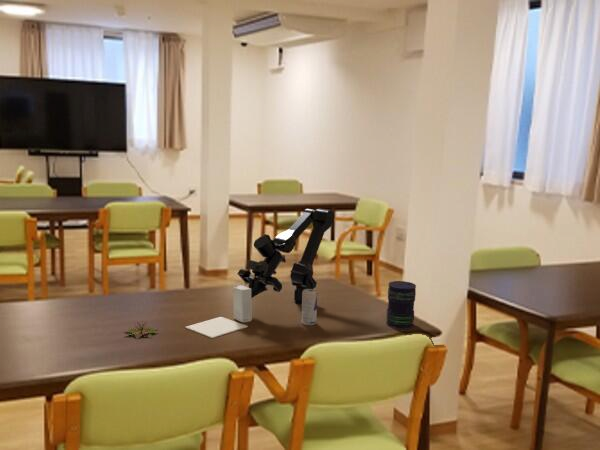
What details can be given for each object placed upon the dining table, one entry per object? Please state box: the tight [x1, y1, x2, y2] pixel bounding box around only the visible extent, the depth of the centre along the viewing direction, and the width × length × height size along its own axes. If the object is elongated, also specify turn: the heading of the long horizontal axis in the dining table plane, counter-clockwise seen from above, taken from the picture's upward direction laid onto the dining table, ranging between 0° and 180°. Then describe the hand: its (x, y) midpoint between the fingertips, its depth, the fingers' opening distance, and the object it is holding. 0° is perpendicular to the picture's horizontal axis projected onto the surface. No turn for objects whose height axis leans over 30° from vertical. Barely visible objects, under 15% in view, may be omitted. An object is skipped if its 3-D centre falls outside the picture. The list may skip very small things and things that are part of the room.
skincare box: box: [232, 284, 253, 324], centre depth 216 cm, size 6×4×12 cm
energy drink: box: [300, 288, 318, 326], centre depth 215 cm, size 5×5×12 cm
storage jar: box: [385, 280, 417, 330], centre depth 216 cm, size 10×10×15 cm
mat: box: [185, 316, 248, 339], centre depth 208 cm, size 16×14×1 cm
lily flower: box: [125, 320, 159, 339], centre depth 200 cm, size 12×12×5 cm
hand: (247, 298), depth 217 cm, fingers closed
